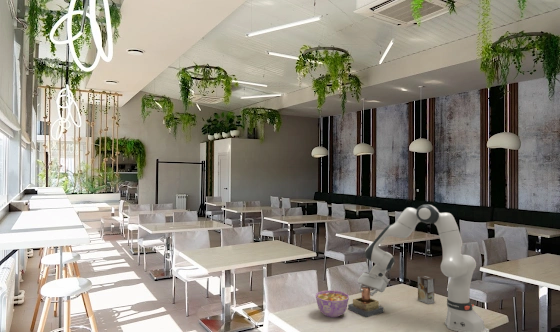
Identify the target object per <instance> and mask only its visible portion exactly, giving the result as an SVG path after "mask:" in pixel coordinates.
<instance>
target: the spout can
mask: <svg viewBox="0 0 560 332" xmlns="http://www.w3.org/2000/svg"><path fill="white" fill-rule="evenodd" d="M360 291H361V292H360ZM360 291H359V292H360V293H361V297H362V302H363V303H365V304H367V303H370V298H371V295H370V292H371V289H370V288H369V287H365V286H364V287H362V289H361V290H360Z"/></svg>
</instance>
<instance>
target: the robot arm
mask: <svg viewBox="0 0 560 332" xmlns="http://www.w3.org/2000/svg"><path fill="white" fill-rule="evenodd" d="M419 223H424V224H433V225H435V226H436V229H437V233H438V236H439V240H440V243H441V248H442V260H441V263H440V271H441V273H442V274H443V275H444V276H446V277H447V278H450V281H449V283H448V284H447V298H446V306H447V307H446V309H447V311H446V317H445V321H444V325H445V326H446V328H447V330H451V331H454V332H457V331H458V332H490V329H489V328H487V327H485V320H484V319H483V318H482V317H481V315H479V314H478V313H477V312H476V311H475V309H473V307H474V305H475V304H472V303H471V301H470V288H471V282H472V279H473V274H474V272H475V269H476V267H477V262H476V260H475V258H474V257H473V256H471V255H469V254H462V248H463V245H464V244H463V239H462V236H461V233H460V232H461V231H460V229H459V226H458V224H457V222H456V219H455V217H454V215H453V214H452V213H450V212H440V210H439V209H438V208H437V207H436V206H434V205H433V204H426V203H425V204H422V205H420V206H418V207H417V208H415V207H411V206H410V207H406V208H404V210H403V211H402V212H401V214H399V216H398V218H397V220H396V221H395V222H394V223H392V224H389V225H387V226H386V227H384V229H383V230H382V231H381V232H380V233H379V234H378V236H377V237H376V238H375V239H374V240H373V241H372V243H371V244H370V245H368V246H367V247H366V249H365V251H364V253H363V254H364V257H365V258H366V260H368V261H369V262H372V263H374V265H373V266H372V267H371V269H370V270H369V272H367V271H364V272H363V273H362V274H360V276H359V277H358V279H357V281H356V282H357V283H358V285H359V288H358V291H359V292H360V293H362V292H361V291H360V290H361V289H362V287H369V288H370V290H372V291H370V297H374V295H375V294H376V293H378V292H379V293H383V292H385V290H386V288H387V287H388V284H389V282H390V280H389V279H388V277H387V276H386V273H387V272H388V271H391V270H392V268H393V266H394V265H395V263H396V261H395V257H394V256H393V254H391V253H390V252H388V251H385V250H383V249H382V248H380V245H381V244H382V242H384V240H385V239H386V238H388V237H393V238H400V239H405V238H408V237H410V236H411V234H412V233H413V232H414V230H415V228H416V227H417V225H418V224H419Z"/></svg>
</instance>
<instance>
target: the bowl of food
mask: <svg viewBox="0 0 560 332" xmlns="http://www.w3.org/2000/svg"><path fill="white" fill-rule="evenodd" d="M315 298H316V303H317V307H318V310H319V311H320V313H321V314H323V315H324V316H326V317H328V318H338V317H340V316H342V315H343V314H345V313H346V310H347V307H348V305H349V300H350V295H348V293H346V292H344V291H339V290H331V289H330V290H329V289H328V290H321V291H318V292H317V293H315Z"/></svg>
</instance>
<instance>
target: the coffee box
mask: <svg viewBox="0 0 560 332" xmlns="http://www.w3.org/2000/svg"><path fill="white" fill-rule="evenodd" d="M417 300H418V301H419V302H422V303H424V304H427V305H430V304H434V303H435V278H434V277H432V276H428V275H425V274H424V275H418V276H417Z"/></svg>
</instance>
